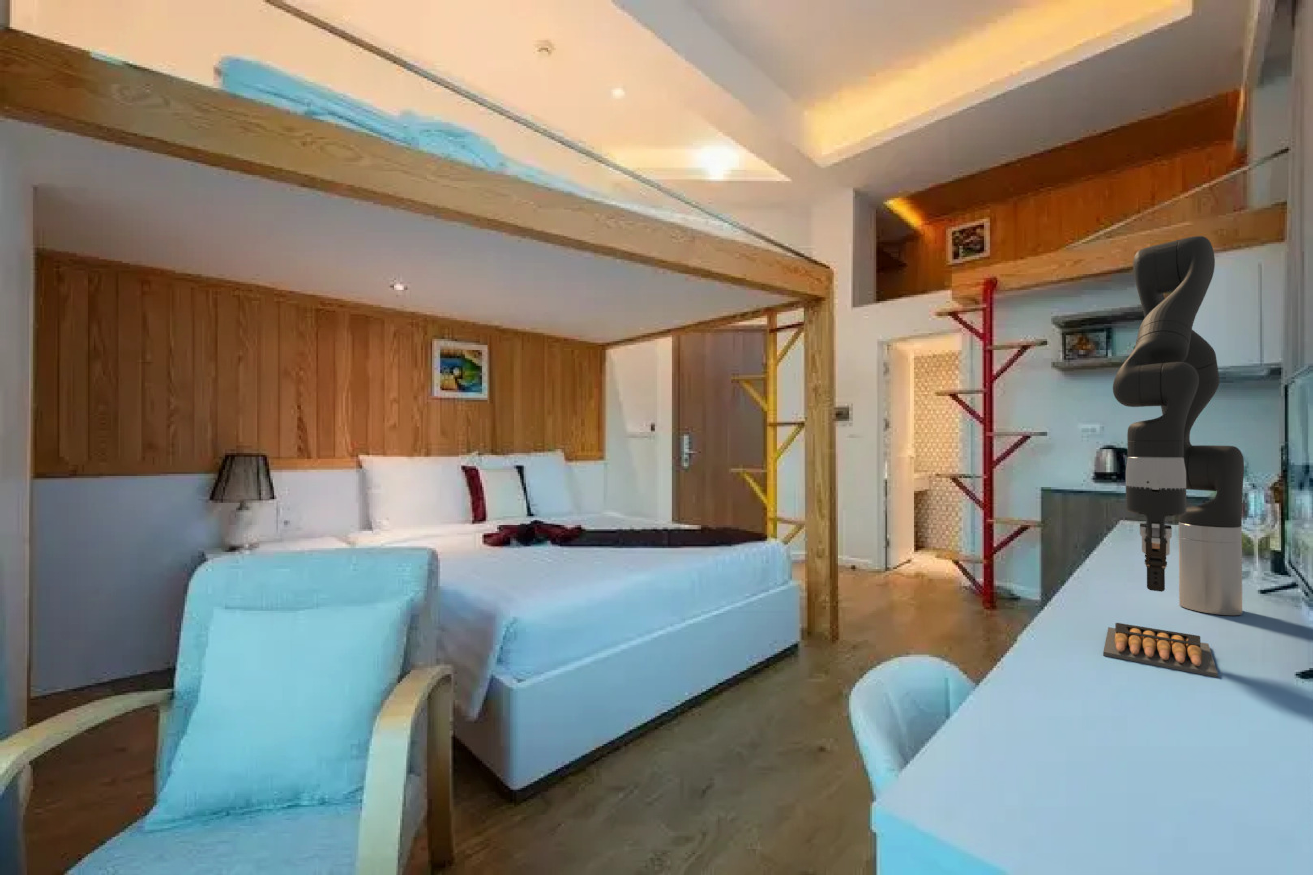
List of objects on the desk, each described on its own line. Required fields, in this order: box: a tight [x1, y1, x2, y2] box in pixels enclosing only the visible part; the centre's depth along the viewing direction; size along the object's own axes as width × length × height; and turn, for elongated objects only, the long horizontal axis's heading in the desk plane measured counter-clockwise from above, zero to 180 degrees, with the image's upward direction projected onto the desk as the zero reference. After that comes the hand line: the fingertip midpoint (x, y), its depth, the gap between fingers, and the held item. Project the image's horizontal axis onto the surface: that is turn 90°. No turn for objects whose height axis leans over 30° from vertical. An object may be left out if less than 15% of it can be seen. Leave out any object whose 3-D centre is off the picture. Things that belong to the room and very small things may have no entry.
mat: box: [1102, 626, 1219, 678], centre depth 93 cm, size 16×13×1 cm
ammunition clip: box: [1114, 622, 1202, 666], centre depth 91 cm, size 11×2×12 cm
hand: (1155, 589), depth 94 cm, fingers closed
